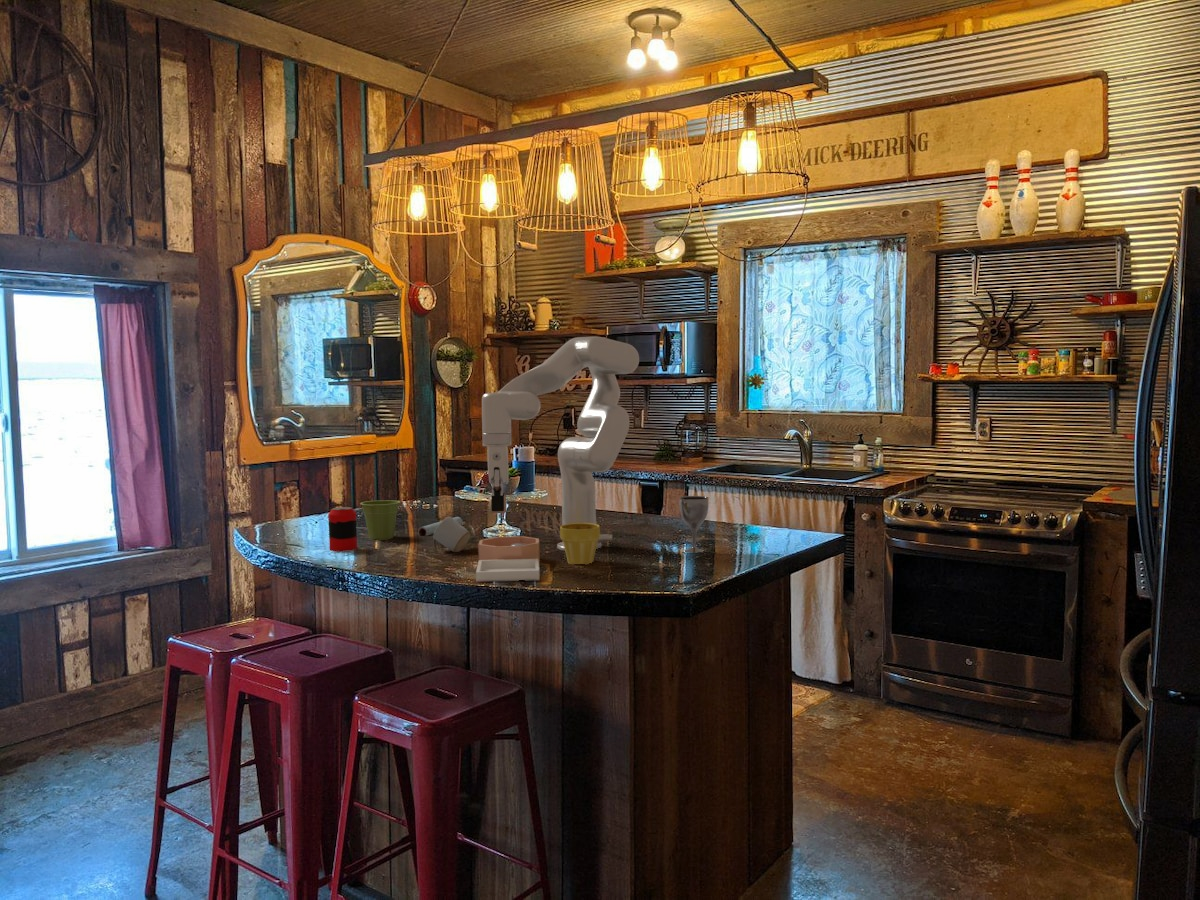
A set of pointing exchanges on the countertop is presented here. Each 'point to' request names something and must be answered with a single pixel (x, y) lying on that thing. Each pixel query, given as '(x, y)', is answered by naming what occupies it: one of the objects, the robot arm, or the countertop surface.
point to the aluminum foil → (434, 527)
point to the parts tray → (507, 570)
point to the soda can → (342, 529)
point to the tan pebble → (497, 511)
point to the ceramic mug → (451, 534)
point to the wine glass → (694, 515)
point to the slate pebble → (518, 544)
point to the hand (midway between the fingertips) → (498, 509)
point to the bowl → (508, 548)
